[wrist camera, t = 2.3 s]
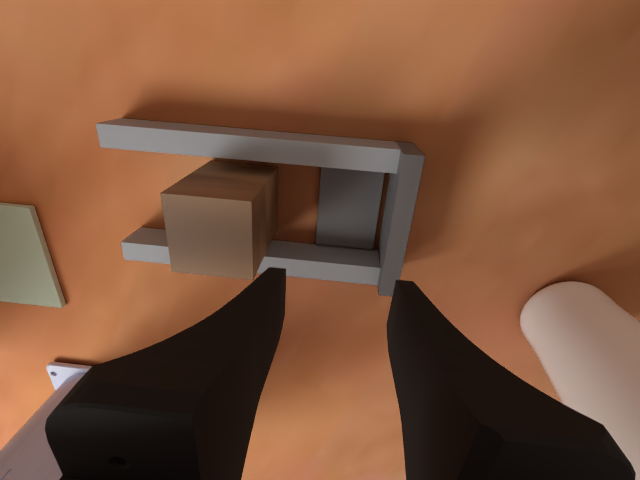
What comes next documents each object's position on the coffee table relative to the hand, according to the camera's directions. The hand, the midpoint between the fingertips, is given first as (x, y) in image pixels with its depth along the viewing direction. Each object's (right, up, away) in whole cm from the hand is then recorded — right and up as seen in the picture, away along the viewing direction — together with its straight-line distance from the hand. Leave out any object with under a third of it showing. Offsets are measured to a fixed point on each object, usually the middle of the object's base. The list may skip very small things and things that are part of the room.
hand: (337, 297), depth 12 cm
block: (-5, +5, +9) cm, 11 cm away
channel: (-5, +5, +9) cm, 11 cm away
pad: (-24, +1, +12) cm, 26 cm away
